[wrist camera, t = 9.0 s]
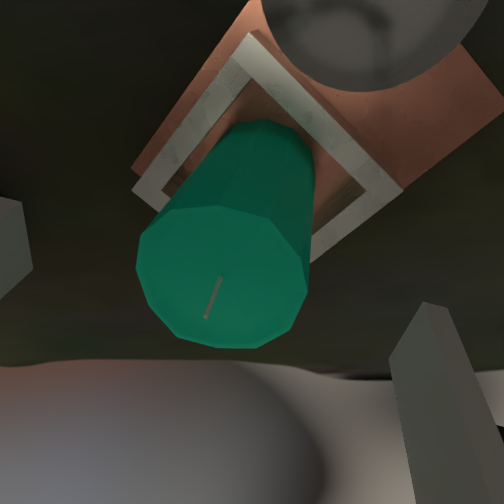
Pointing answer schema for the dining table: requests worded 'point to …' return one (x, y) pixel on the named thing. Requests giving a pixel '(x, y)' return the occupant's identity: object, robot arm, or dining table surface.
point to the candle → (234, 240)
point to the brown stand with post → (334, 99)
